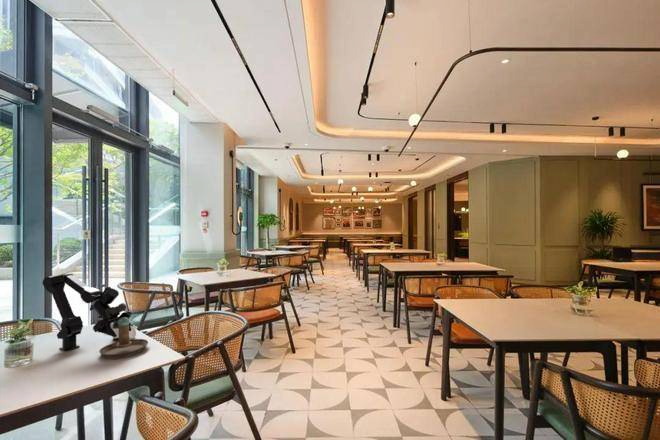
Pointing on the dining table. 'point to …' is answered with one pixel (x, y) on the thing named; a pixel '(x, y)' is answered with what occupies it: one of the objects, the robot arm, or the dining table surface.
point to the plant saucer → (123, 349)
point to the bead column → (123, 333)
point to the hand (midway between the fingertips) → (123, 333)
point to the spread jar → (116, 330)
